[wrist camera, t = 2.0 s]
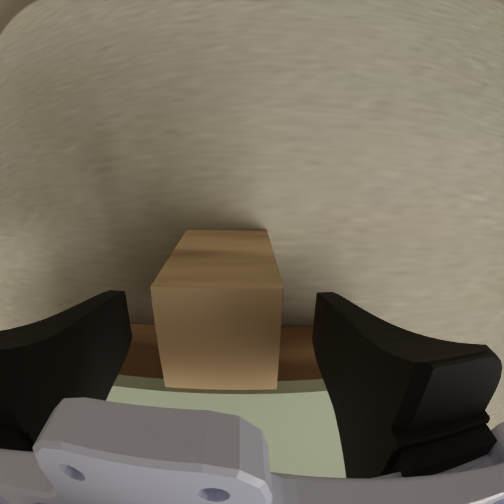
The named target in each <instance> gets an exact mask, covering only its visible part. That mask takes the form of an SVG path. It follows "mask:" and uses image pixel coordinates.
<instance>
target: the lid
mask: <svg viewBox="0 0 504 504" xmlns="http://www.w3.org/2000/svg"><path fill="white" fill-rule="evenodd" d="M106 401H111V402H118V403H126V404H134V405H143V406H153V407H164V408H177V409H193V410H210V411H215V412H220V413H226V414H231V415H236V416H240V417H241V418H243V419H245V420H246V421H248V422H249V423H251V424H253V425H254V426H256V427H258V428H259V429H261V430H262V432H263V435H264V437H265V440H266V442H267V445H268V450H269V461H270V472H276V473H284V474H293V475H303V476H315V477H330V478H346V472H345V465H344V458H343V452H342V447H341V441H340V436H339V431H338V426H337V421H336V417H335V412H334V409H333V406H332V402H331V400H330V397H329V394H328V392H327V389H326V386H325V383H324V381H323V379H315V380H297V381H277V389H270V390H216V389H189V388H172V387H165V383H164V379H159V378H146V377H136V376H126V375H118V376H117V378H116V380H115V382H114V384H113V386H112V388H111V391H110V393H109V395H108V397H107V399H106Z"/></svg>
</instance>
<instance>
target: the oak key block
mask: <svg viewBox="0 0 504 504" xmlns="http://www.w3.org/2000/svg"><path fill="white" fill-rule="evenodd" d="M150 290H151V298H152V306H153V314H154V321H155V328H156V335H157V342H158V348H159V354H160V360H161V366H162V372H163V377H164V383H165V387H172V388H189V389H216V390H270V389H277V379H278V365H279V351H280V335H281V319H282V302H283V286H282V282H281V278H280V275H279V271H278V268H277V264H276V260H275V257H274V253H273V250H272V246H271V243H270V239H269V236H268V232H267V230H187V231H186V232H185V234H184V235H183V237H182V238H181V240H180V241H179V243H178V244H177V246H176V247H175V249H174V250H173V252H172V253H171V255H170V257H169V258H168V260H167V261H166V263H165V264H164V266H163V267H162V269H161V271H160V272H159V274H158V275H157V277H156V279H155V280H154V282H153V283H152V285H151V287H150Z"/></svg>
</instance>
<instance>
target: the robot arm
mask: <svg viewBox="0 0 504 504" xmlns="http://www.w3.org/2000/svg"><path fill="white" fill-rule="evenodd" d="M131 340H132V331H131V326H130V320H129V315H128V309H127V302H126V296H125V291H114V290H110V291H107V292H104V293H101V294H99V295H97V296H95V297H92V298H90V299H88V300H86V301H84V302H82V303H80V304H78V305H76V306H74V307H72V308H70V309H67V310H65V311H63V312H61V313H59V314H56V315H54V316H52V317H49V318H47V319H44V320H41V321H38V322H35V323H32V324H29V325H25V326H21V327H17V328H13V329H8V330H3V331H0V504H504V422H502V423H500V424H498V425H497V426H496V427H494V428H493V429H492V430H490V429H489V427H488V426H487V425H486V423H488V422H489V420H490V417H489V415H488V414H487V413H486V411H485V409H486V407H487V405H488V404H489V402H490V400H491V398H492V396H493V394H494V392H495V390H496V388H497V386H498V383H499V381H500V378H501V372H502V364H501V360H500V359H499V358H498V356H497V355H496V354H495V353H494V352H493V351H492V350H491V349H490V348H489V347H488V346H487V345H479V344H466V343H456V342H450V341H444V340H439V339H435V338H430V337H427V336H423V335H420V334H416V333H413V332H410V331H407V330H405V329H402V328H400V327H397V326H395V325H392V324H390V323H388V322H386V321H384V320H382V319H380V318H378V317H376V316H374V315H372V314H370V313H369V312H367V311H365V310H363V309H362V308H360V307H358V306H357V305H355V304H353V303H352V302H350V301H348V300H347V299H345V298H343V297H342V296H340V295H338V294H336V293H334V292H319V293H317V297H316V307H315V316H314V325H313V334H312V343H313V348H314V353H315V357H316V361H317V364H318V367H319V370H320V373H321V375H322V378H323V381H324V383H325V386H326V389H327V392H328V394H329V397H330V400H331V402H332V406H333V409H334V412H335V417H336V421H337V426H338V431H339V436H340V441H341V447H342V452H343V458H344V465H345V472H346V478H330V477H315V476H303V475H293V474H284V473H276V472H270V461H269V450H268V445H267V442H266V440H265V437H264V435H263V432H262V430H261V429H259V428H258V427H256V426H254V425H253V424H251V423H249V422H248V421H246V420H245V419H243V418H241V417H240V416H236V415H231V414H226V413H220V412H215V411H210V410H193V409H177V408H164V407H153V406H143V405H134V404H126V403H118V402H111V401H106V399H107V397H108V395H109V393H110V391H111V388H112V386H113V384H114V382H115V380H116V378H117V376H118V374H119V372H120V370H121V367H122V365H123V363H124V361H125V359H126V357H127V354H128V350H129V347H130V344H131Z"/></svg>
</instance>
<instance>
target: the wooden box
mask: <svg viewBox="0 0 504 504" xmlns="http://www.w3.org/2000/svg"><path fill="white" fill-rule="evenodd" d="M130 326H131V331H132V340H131V344H130V347H129V350H128V354H127V357H126V359H125V361H124V363H123V365H122V367H121V370H120V372H119V374H118V375H126V376H136V377H146V378H159V379H164V377H163V372H162V366H161V360H160V354H159V348H158V342H157V335H156V328H155V325H152V324H134V323H130ZM312 334H313V326H285V327H281V335H280V351H279V365H278V379H277V381H297V380H315V379H323V378H322V375H321V373H320V370H319V367H318V364H317V361H316V357H315V353H314V348H313V343H312Z"/></svg>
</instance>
